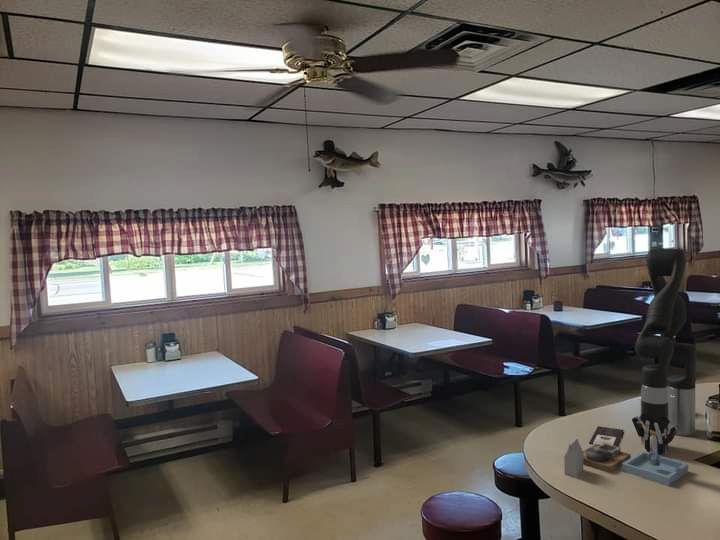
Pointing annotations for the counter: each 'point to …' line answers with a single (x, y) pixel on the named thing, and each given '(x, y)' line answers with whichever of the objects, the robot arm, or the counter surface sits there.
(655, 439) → the lock pin
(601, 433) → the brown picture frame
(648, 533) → the counter surface
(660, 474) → the tray
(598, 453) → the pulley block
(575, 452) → the grey house block
